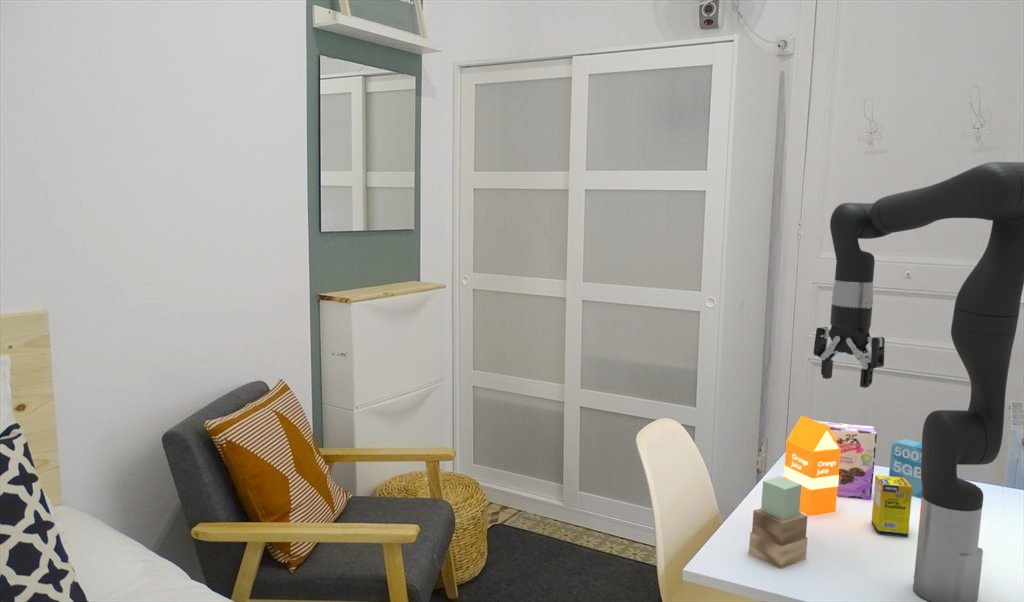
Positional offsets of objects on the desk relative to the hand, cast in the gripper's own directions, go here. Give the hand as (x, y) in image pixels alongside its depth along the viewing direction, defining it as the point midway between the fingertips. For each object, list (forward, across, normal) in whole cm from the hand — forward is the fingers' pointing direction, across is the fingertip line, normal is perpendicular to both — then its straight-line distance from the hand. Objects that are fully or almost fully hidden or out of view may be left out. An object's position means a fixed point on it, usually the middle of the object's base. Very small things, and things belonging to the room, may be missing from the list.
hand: (845, 382), depth 160 cm
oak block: (+32, +1, -19) cm, 38 cm away
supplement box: (+32, +5, +12) cm, 35 cm away
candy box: (+32, -14, +22) cm, 42 cm away
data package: (+32, -4, +38) cm, 50 cm away
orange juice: (+32, -12, +8) cm, 35 cm away
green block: (+23, +1, -19) cm, 30 cm away
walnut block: (+28, +1, -19) cm, 34 cm away
